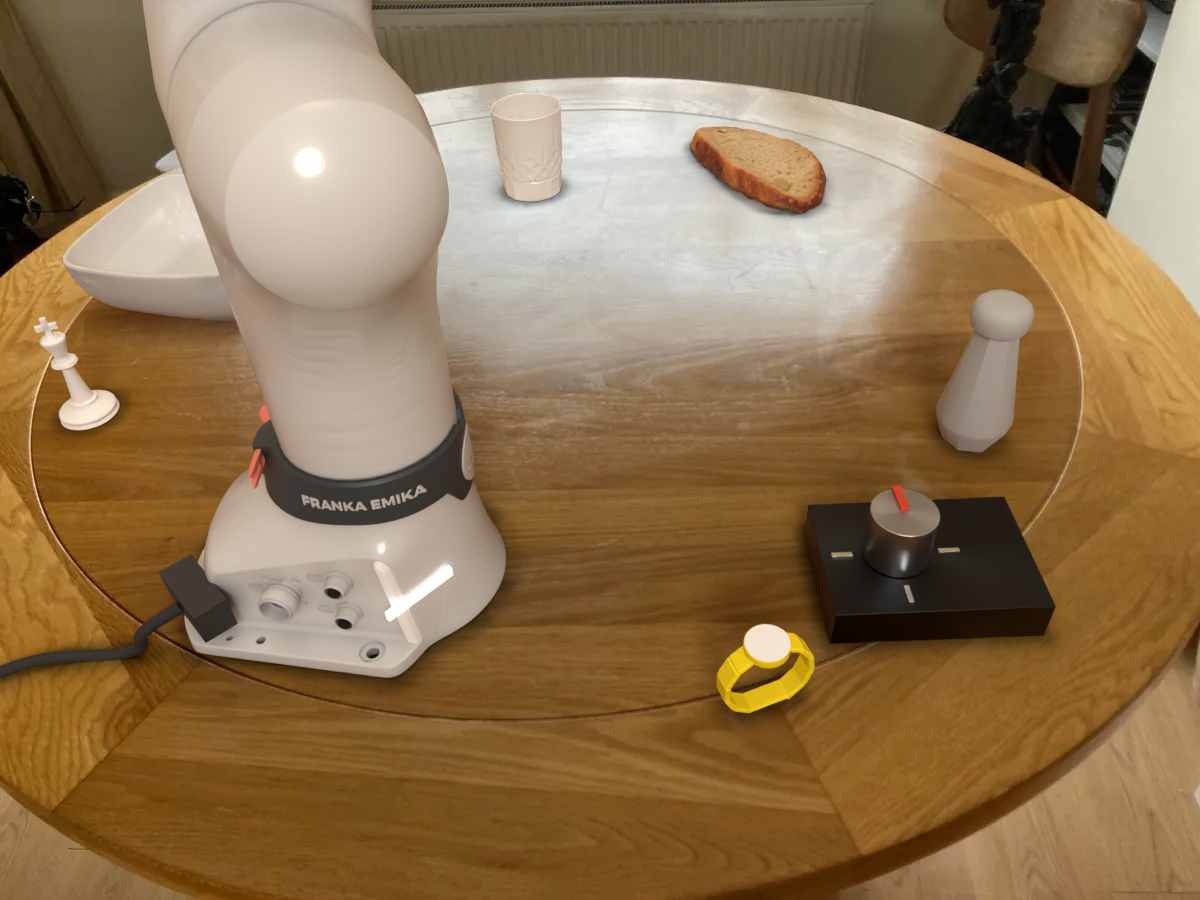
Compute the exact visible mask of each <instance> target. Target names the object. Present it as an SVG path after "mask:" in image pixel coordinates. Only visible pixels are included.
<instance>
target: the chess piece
mask: <svg viewBox="0 0 1200 900" xmlns="http://www.w3.org/2000/svg"><path fill="white" fill-rule="evenodd" d="M38 322H39V324H37V325H34V326H33V329H34V332H35V333H36V334H38V333H45V334H44V335H43V336H41V338H40V339H39V345H40V346H41V347H42V348H43V349H44V350H46V352H48V353H49V354H50V356H52V357H53V358H52V360H51V361H50V367H51V369H52V370H55V371H61V372H62V375H63V377H64V381H65V384H66V386H67V389H68V392H69V395H70V398H69V399H68V400H66V401H65V402H64V403H63V404H62V405H61V407H60V408H59V410H58V418H59V421H60V424H61V425H62V426H63V427H64V428H65V429H67V430H70V431H86V430H87V431H88V430H91V429H94V428H97V427H100V426H102V425H104V424H105V423H107V422H108V421H110V420H112V419H113V418H114V417H115V416H116V415H117V413H118V412H119V410H120V401H119V400H118V398H117V397H116V396H115V394H114V393H113V392H111V391H108V390H105V389H90V388H89V386H88V385H87V384H86V382H85V381H84V379H83V378H82V377H81V375H80V374H79V372H78V371H77V369H76V367H75V365H76V364H78V361H79V357H78V356H77V355H76V354H75V353H72V352H68V344H67V335H66V334H65V333H64V332H62V331H53V330H57V329H59V324H58V322H57V320H55V321H51V322H48V320H47V318H46V316H42V317H39V318H38Z"/></svg>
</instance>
